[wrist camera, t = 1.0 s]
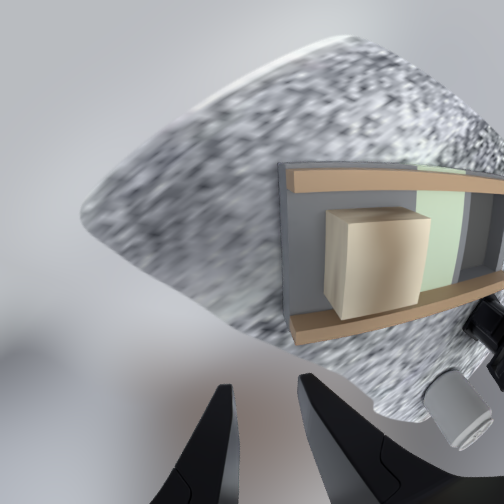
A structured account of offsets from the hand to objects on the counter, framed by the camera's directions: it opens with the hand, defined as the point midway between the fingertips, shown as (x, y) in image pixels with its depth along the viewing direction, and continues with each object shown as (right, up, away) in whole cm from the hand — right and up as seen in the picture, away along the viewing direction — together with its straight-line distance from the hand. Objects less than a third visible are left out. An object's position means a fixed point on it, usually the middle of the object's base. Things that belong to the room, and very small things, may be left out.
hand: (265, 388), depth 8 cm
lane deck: (+15, +6, +13) cm, 21 cm away
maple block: (+7, +4, +10) cm, 14 cm away
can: (+28, -16, +23) cm, 40 cm away
